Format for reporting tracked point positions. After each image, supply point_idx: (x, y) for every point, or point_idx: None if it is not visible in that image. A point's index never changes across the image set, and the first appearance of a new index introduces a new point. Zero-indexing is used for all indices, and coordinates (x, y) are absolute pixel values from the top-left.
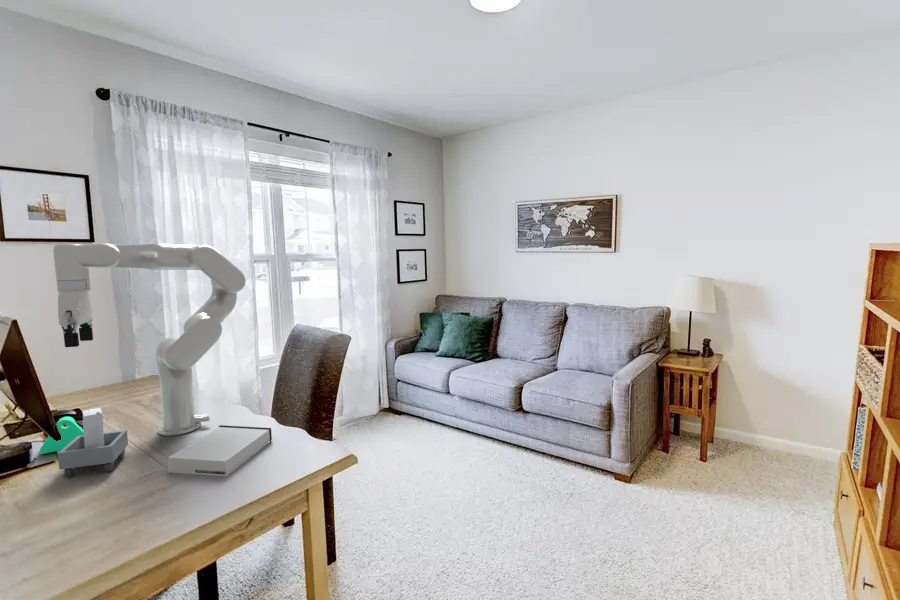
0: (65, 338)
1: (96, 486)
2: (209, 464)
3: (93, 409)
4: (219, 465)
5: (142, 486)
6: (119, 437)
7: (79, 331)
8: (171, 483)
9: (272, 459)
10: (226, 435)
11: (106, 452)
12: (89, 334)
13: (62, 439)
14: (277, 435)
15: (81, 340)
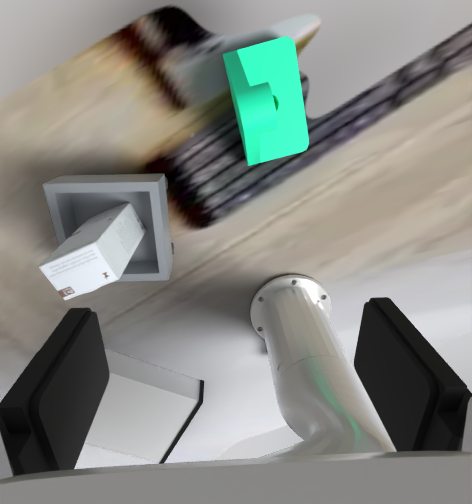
0: (38, 369)
1: (36, 247)
2: None
3: (98, 270)
4: None
5: (27, 315)
6: (121, 280)
7: (413, 361)
8: (33, 350)
9: (95, 448)
10: (149, 416)
11: None
12: (376, 395)
13: (235, 106)
14: (189, 447)
15: (366, 307)
